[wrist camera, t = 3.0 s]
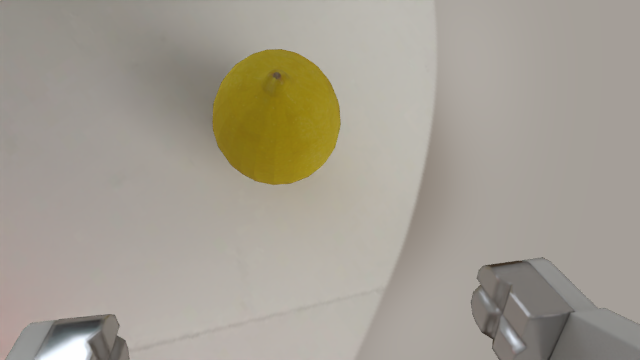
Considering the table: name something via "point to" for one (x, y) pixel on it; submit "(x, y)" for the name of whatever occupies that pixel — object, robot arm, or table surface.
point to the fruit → (276, 117)
